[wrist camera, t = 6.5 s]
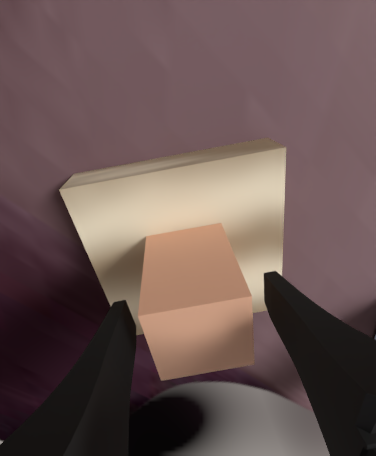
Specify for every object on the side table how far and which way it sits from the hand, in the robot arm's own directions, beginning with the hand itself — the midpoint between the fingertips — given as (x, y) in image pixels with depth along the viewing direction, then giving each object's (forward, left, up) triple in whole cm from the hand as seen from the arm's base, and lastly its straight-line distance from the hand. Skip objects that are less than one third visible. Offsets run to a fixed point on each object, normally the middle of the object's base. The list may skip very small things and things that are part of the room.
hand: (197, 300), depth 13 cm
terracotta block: (0, 0, -3) cm, 4 cm away
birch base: (0, 0, -6) cm, 6 cm away
